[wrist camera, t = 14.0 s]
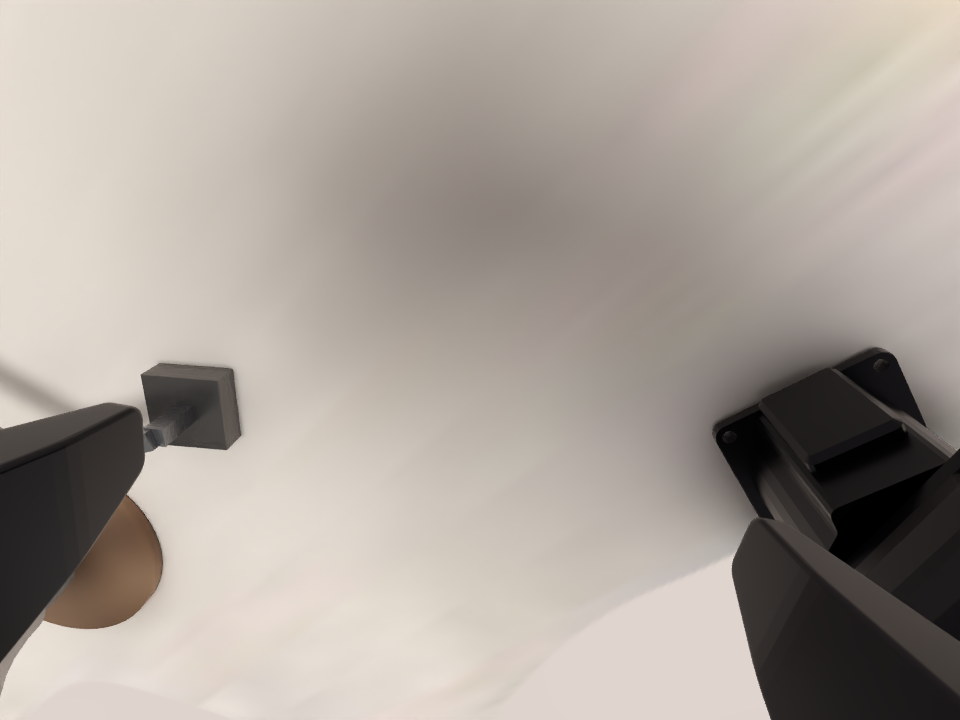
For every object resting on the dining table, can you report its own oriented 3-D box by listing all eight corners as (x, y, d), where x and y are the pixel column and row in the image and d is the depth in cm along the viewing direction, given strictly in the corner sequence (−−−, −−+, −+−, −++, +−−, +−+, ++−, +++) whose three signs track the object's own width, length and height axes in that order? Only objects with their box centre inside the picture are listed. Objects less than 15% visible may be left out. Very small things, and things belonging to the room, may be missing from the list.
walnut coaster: (201, 571, 26) (191, 584, 26) (77, 639, 29) (65, 653, 28) (57, 424, 24) (42, 433, 23) (-65, 512, 27) (-83, 523, 26)
